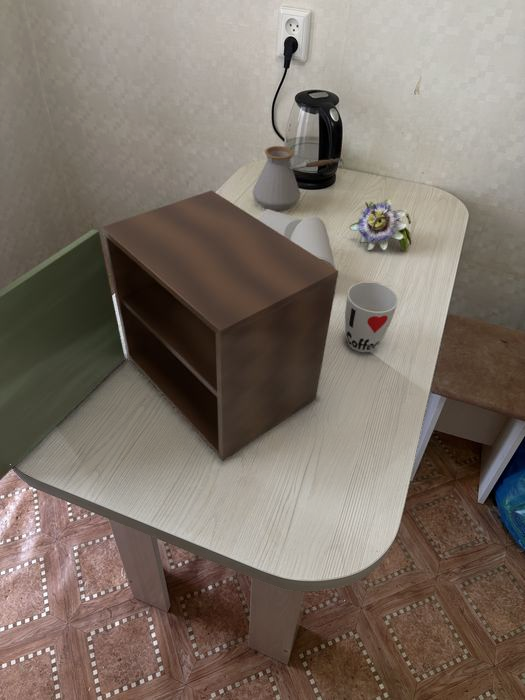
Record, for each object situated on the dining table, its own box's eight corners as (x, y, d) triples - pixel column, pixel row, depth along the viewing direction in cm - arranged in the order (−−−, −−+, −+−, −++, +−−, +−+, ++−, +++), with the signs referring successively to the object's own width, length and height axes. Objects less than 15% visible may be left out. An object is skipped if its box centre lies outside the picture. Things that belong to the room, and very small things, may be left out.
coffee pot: (243, 206, 121) (244, 144, 111) (267, 188, 128) (270, 128, 118) (323, 233, 114) (332, 169, 103) (343, 212, 121) (354, 150, 111)
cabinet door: (-45, 458, 68) (-133, 323, 51) (87, 343, 85) (53, 214, 68) (-2, 482, 65) (-81, 350, 49) (125, 359, 82) (99, 230, 66)
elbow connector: (360, 254, 106) (275, 228, 112) (365, 214, 97) (273, 188, 103) (325, 314, 97) (236, 281, 103) (328, 276, 89) (230, 243, 95)
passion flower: (366, 270, 113) (341, 228, 107) (379, 239, 119) (355, 198, 113) (413, 259, 106) (388, 214, 100) (424, 227, 112) (402, 182, 106)
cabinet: (223, 461, 69) (220, 330, 53) (127, 356, 83) (101, 227, 66) (316, 399, 78) (338, 270, 61) (215, 314, 92) (211, 190, 75)
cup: (332, 350, 86) (341, 304, 79) (345, 322, 92) (354, 276, 85) (379, 364, 84) (392, 318, 77) (389, 334, 90) (402, 289, 83)
